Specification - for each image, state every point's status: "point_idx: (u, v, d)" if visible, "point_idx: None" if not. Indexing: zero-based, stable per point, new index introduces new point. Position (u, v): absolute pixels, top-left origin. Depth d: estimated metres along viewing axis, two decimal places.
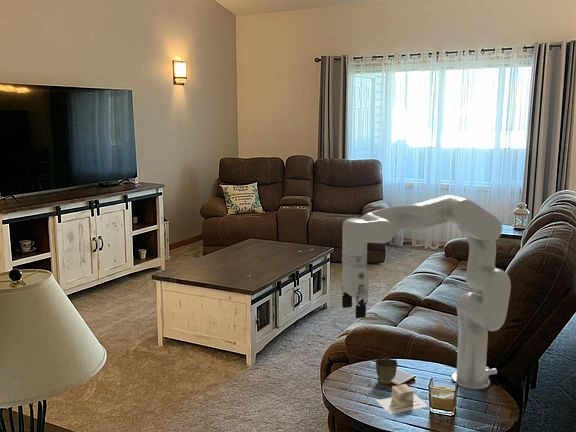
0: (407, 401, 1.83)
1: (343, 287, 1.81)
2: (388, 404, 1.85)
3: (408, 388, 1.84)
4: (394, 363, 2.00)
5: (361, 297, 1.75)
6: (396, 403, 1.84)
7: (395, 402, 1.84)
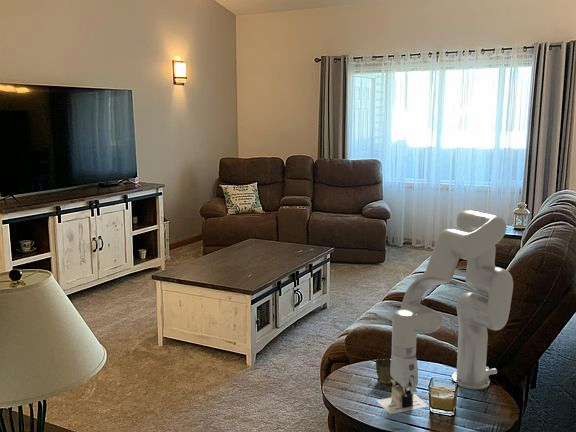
0: None
1: (392, 374, 1.86)
2: (388, 404, 1.85)
3: (408, 388, 1.84)
4: None
5: (409, 387, 1.81)
6: (396, 403, 1.84)
7: (395, 402, 1.84)
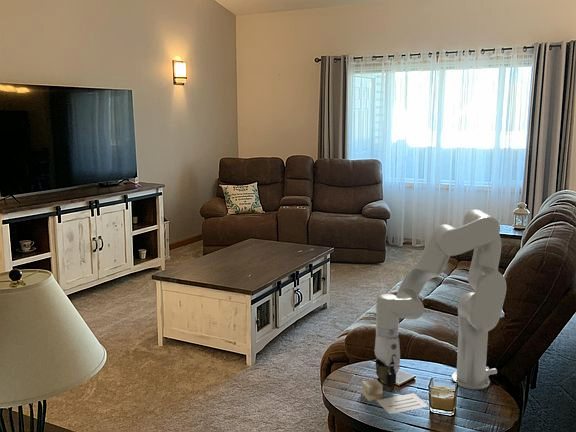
0: (376, 395, 1.88)
1: (376, 354, 2.00)
2: (388, 404, 1.85)
3: (377, 382, 1.89)
4: None
5: None
6: (366, 397, 1.88)
7: (365, 396, 1.89)
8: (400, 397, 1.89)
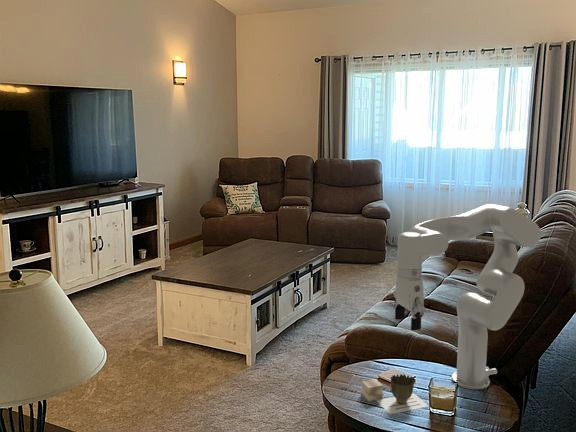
0: (376, 395, 1.88)
1: (397, 299, 1.83)
2: (388, 404, 1.85)
3: (377, 382, 1.89)
4: (410, 381, 1.86)
5: (416, 309, 1.77)
6: (366, 397, 1.88)
7: (365, 396, 1.89)
8: None
